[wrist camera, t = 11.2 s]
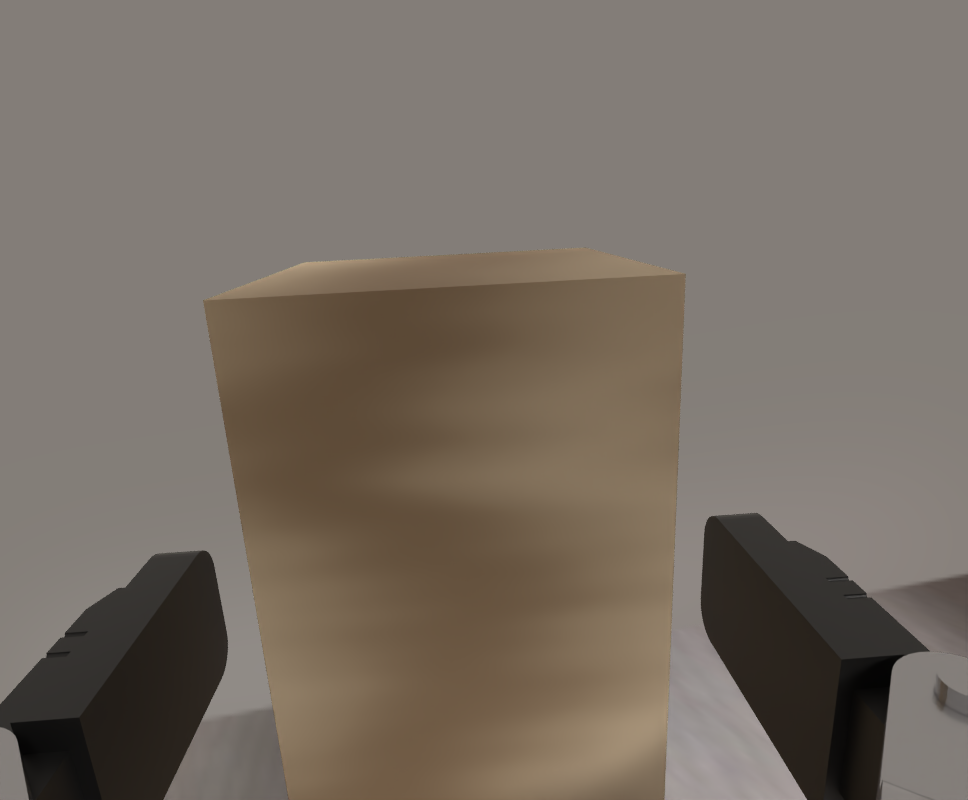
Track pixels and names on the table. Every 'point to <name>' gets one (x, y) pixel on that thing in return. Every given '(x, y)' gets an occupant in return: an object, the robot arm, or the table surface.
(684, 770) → the table surface
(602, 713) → the oak block
